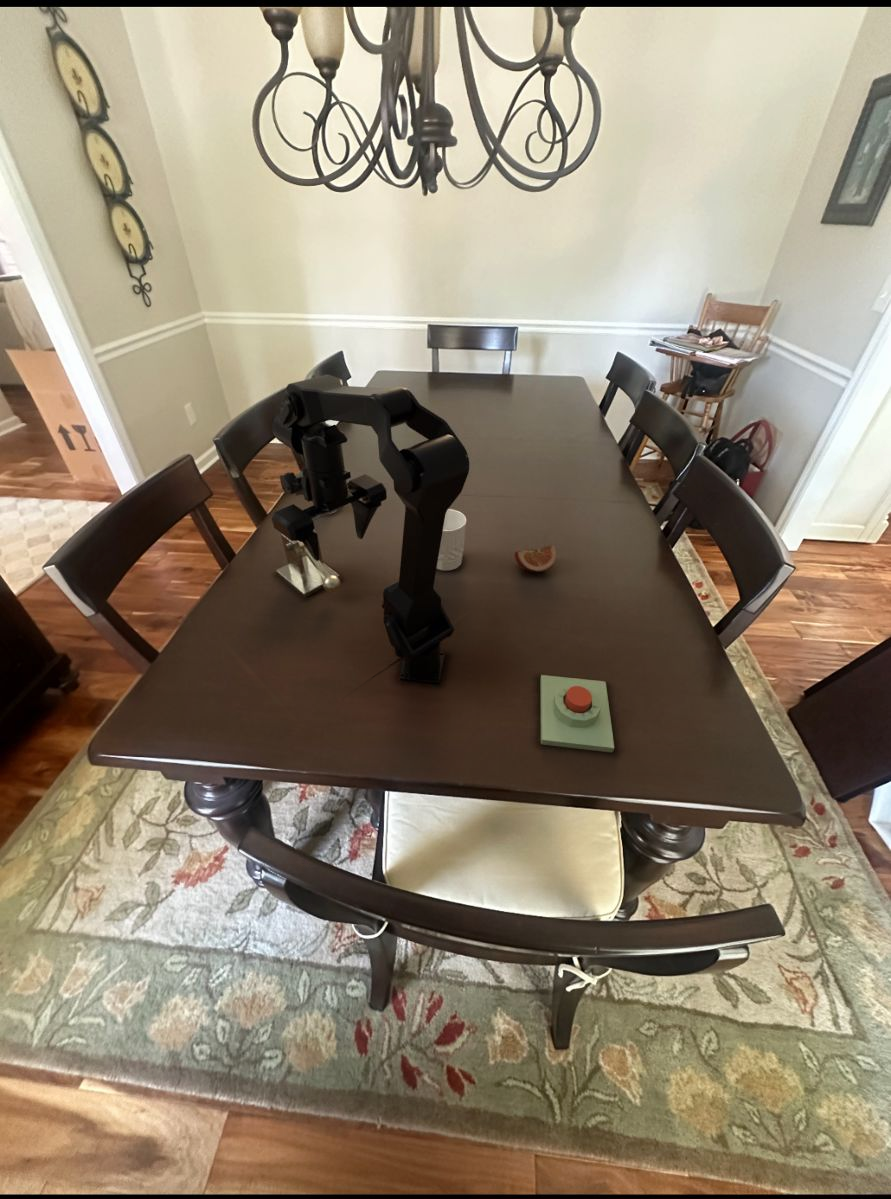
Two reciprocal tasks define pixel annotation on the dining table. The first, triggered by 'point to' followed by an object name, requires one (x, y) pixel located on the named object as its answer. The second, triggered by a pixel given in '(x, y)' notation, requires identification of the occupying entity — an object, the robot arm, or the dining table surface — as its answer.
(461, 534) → the white cup
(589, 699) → the button
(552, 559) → the fruit slice
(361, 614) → the dining table surface
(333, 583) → the lever
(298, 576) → the bracket
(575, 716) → the switchbox
